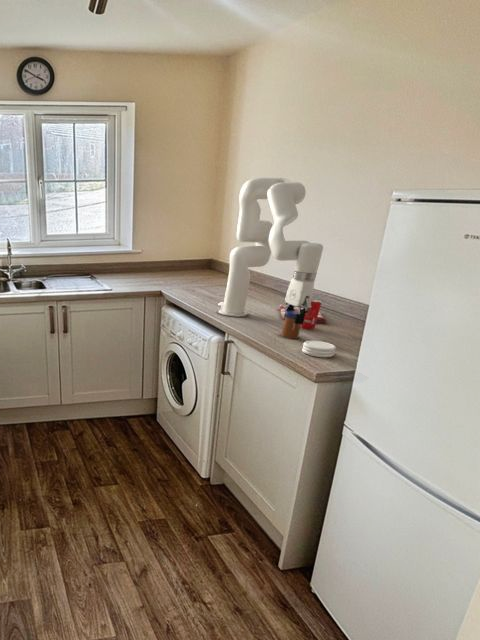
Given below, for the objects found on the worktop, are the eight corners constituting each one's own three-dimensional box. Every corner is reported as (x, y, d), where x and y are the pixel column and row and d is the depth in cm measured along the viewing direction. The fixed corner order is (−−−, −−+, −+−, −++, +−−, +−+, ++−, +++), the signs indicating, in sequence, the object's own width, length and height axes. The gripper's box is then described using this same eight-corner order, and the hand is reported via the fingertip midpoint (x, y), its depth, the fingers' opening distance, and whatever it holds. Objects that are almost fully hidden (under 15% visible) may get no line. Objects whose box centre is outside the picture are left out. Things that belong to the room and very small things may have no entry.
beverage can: (297, 327, 197) (304, 300, 192) (305, 325, 199) (312, 298, 194) (309, 330, 193) (316, 302, 188) (317, 328, 195) (324, 301, 190)
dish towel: (283, 320, 208) (284, 314, 207) (278, 308, 228) (279, 303, 227) (325, 323, 202) (327, 318, 201) (316, 312, 222) (318, 306, 221)
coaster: (296, 352, 166) (299, 343, 165) (308, 347, 172) (310, 338, 171) (326, 360, 159) (329, 350, 158) (338, 354, 165) (340, 345, 163)
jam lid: (284, 317, 180) (285, 313, 180) (285, 313, 186) (286, 309, 185) (303, 319, 177) (304, 315, 177) (303, 315, 183) (304, 311, 182)
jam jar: (277, 335, 186) (283, 312, 183) (288, 333, 188) (293, 311, 185) (290, 339, 181) (296, 316, 178) (301, 337, 183) (307, 314, 180)
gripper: (282, 272, 183) (272, 315, 190) (308, 280, 167) (296, 327, 174) (300, 272, 183) (290, 315, 190) (328, 280, 167) (315, 327, 174)
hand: (293, 320), depth 182 cm, fingers closed on jam lid, 6 cm apart
